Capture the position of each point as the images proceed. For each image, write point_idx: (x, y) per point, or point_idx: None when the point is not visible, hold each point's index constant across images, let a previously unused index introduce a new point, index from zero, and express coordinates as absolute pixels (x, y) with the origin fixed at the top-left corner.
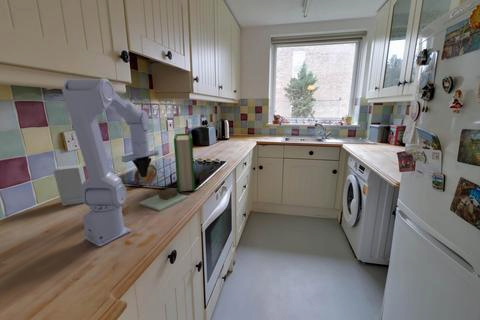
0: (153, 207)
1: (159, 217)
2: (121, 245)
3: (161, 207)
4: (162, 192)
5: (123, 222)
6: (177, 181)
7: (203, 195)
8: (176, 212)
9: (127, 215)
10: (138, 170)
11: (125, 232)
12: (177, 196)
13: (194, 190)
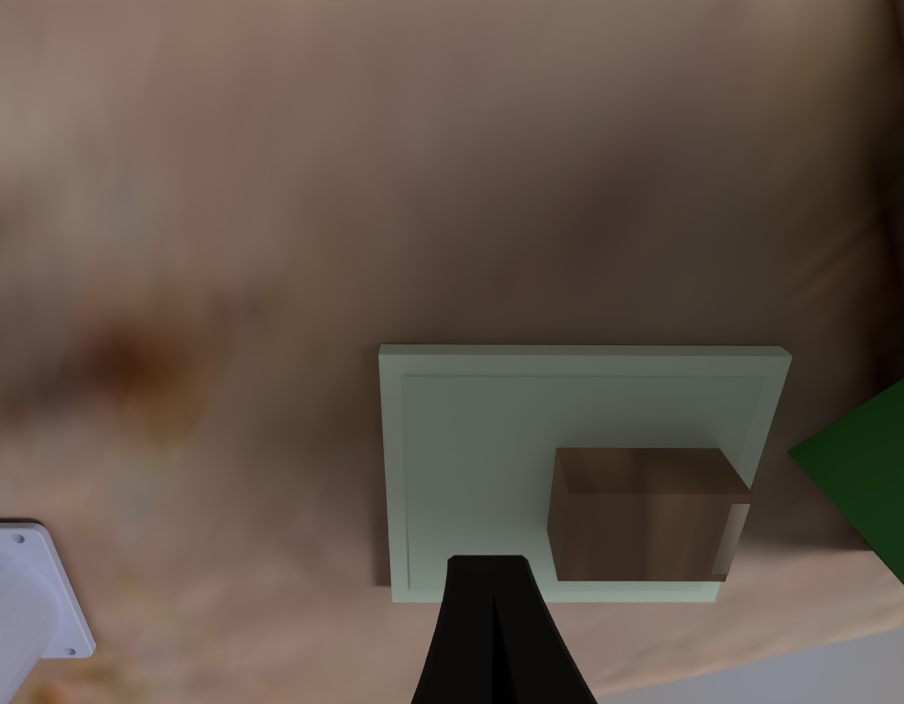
0: (389, 531)
1: (323, 642)
2: None
3: (415, 594)
4: (589, 526)
5: (20, 684)
6: (892, 565)
7: (803, 641)
8: None
9: (173, 456)
10: (419, 692)
11: (52, 657)
12: None
13: (882, 560)
